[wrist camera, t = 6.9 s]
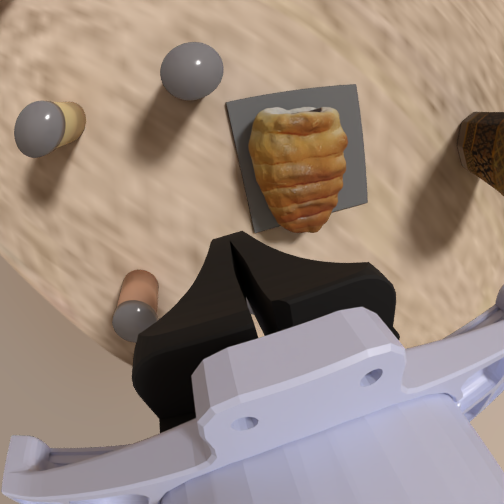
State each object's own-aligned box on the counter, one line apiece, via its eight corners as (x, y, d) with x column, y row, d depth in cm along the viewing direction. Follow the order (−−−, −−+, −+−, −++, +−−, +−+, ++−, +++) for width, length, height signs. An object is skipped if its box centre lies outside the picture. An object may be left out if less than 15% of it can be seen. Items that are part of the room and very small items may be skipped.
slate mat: (366, 201, 24) (367, 202, 24) (254, 232, 23) (255, 233, 23) (354, 84, 19) (355, 84, 19) (226, 102, 18) (226, 102, 18)
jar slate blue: (218, 95, 18) (229, 91, 14) (171, 107, 18) (167, 107, 14) (208, 52, 17) (216, 36, 12) (161, 64, 16) (154, 51, 12)
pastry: (337, 217, 24) (360, 236, 21) (257, 233, 23) (270, 257, 20) (330, 102, 20) (357, 103, 16) (240, 111, 19) (251, 112, 16)
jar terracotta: (165, 296, 24) (164, 336, 20) (131, 305, 24) (124, 346, 20) (151, 264, 23) (146, 302, 18) (115, 274, 22) (104, 313, 18)
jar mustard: (92, 135, 17) (66, 144, 13) (54, 151, 17) (23, 166, 13) (81, 93, 16) (53, 91, 11) (43, 111, 15) (9, 116, 11)
